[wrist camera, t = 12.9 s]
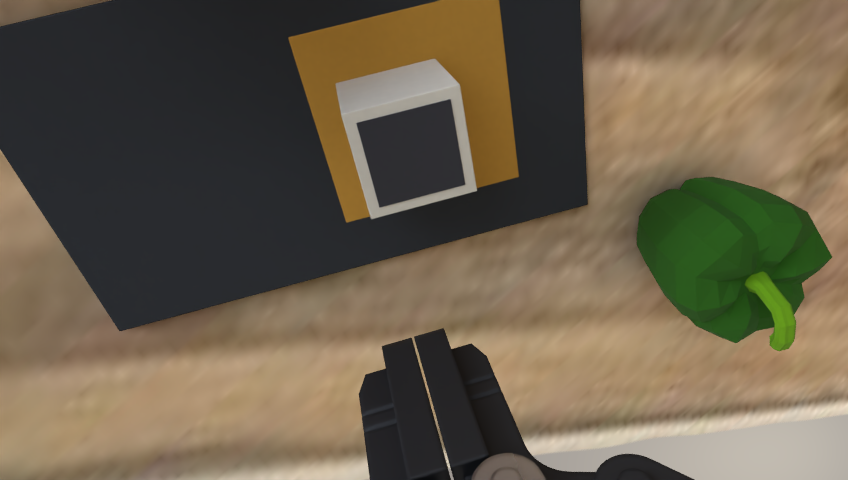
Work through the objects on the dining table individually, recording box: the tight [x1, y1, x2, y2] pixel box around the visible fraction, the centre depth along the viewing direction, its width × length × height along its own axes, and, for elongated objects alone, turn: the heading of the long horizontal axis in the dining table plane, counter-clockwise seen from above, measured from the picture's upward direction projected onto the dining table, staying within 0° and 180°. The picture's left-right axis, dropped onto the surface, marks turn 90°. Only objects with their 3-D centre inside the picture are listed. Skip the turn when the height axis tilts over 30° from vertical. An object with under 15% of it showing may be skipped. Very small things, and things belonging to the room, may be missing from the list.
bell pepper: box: [637, 177, 832, 351], centre depth 31 cm, size 8×8×10 cm
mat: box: [0, 0, 588, 331], centre depth 28 cm, size 16×28×1 cm, turn 102°
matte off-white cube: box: [335, 58, 477, 219], centre depth 25 cm, size 5×5×5 cm
